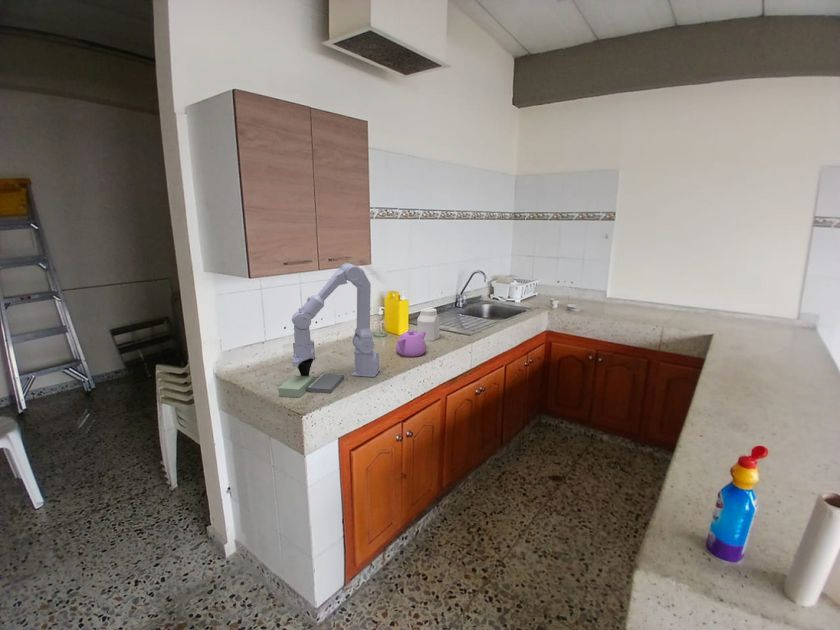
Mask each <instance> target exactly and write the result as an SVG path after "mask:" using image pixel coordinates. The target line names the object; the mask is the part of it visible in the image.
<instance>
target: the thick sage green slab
mask: <svg viewBox="0 0 840 630" xmlns="http://www.w3.org/2000/svg"><path fill="white" fill-rule="evenodd" d="M314 380H315V379H314V376H311V375H309V376H301V375H293V376H291V377H290V378H288V379H287V380H286V381H285V382H284V383H283V384H281V385H280V386H279V387H278V389H277V390H278V396H279V397H285V398H286V397H287V398H288V397H289V398H299V397H300V398H301V397H302V396H303V395H305V393H306V392H307V387H308V386H309V385H310V384H311V383H312V382H313V381H314Z"/></svg>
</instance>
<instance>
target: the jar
mask: <svg viewBox="0 0 840 630" xmlns="http://www.w3.org/2000/svg"><path fill="white" fill-rule="evenodd" d="M438 315H439V314H438V312H437V309H436V308H433V307H425V308H421V309H420V314H419V316H418V317H417V320H416V322H417V333H419V334H421V332H422V331H423V332H425V333H426V334H425V337H424V341H425V342H435V341H436V340H437V339H440V338H441V337H440V331H441V329H440V323H441V322H440V317H439V316H438Z"/></svg>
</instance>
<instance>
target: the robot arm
mask: <svg viewBox="0 0 840 630" xmlns="http://www.w3.org/2000/svg"><path fill="white" fill-rule="evenodd" d="M348 282H350V283H351V284H352V285H353V286H355V288H356V328H355V330H354V335H353V337H352V344H353V346H354V347H355V349H354V351H353V352H354V354H353V355H354V371H353V373H352V374H351V376H354V377H366V378H367V377H369V378H370V377H371V378H375V377H377V375H378V373H379V372H380V371H381V370H380V354H379V352H376V351H374V349H375V342H374V340H373V333H372V332H371V292H372V291H371V288H372V287H371V282H370V280H369V279H368V277H367V275H366V273H365V270H363V269H362V268H361V267H360V266H358V265H355V264H352V263H351V262H345V263H343V264H341V266H340V267H339V268H338V269H336V270H335V272H334V273H333V275H332V276H331V277H330V278H329V280H328V281H327V282H326V283H325V284H324V286H323V287H322V289H320V291H319V292H318V293H317V294H315V295H311V297H310V296H308V297H307V298H306V301H305V303H304V304H303V305H302V306H301V307H299V308H298V309H297V311H295V312H294V313H293V315H292V318H291V322H292V323H293V336H294V337H293V338H294V343H295V353H296V354H294V353H293V354H292V357H293V360H292V361H291V363H292V367H296V368H297V369H298V370H299V374H300V376H310V372H311V367H312V365H313V362H314V360H313V359H312V358H311V357H312V355H314V350H315V348H314V349H311V340H312V339H311V331H310V326H311V324H312V320H313V319H314V318H315V317H316V316H317V315H318V314H319V312H320V311H321V310H322V309H323V308H324V307H325V300H326V299H328V297H329V296H331V294H332V293H333V292H334V291H336V289H337V288H338V287H339V286H342V285H346V284H348ZM294 357H295V358H294Z"/></svg>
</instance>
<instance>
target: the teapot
mask: <svg viewBox="0 0 840 630" xmlns="http://www.w3.org/2000/svg"><path fill="white" fill-rule="evenodd" d="M425 334H426V333H425V332H423V331H422V332H421V334H419V333H418V332H416V331H415V330H412V329H409V330H408V331H406V332H403V333H402V334H401V335H400V337H399V338H398V340H397V342H396V346H395V351H396V353H397V354H399V355H400V356H402V357H405V358H406V357H408V358H409V357H410V358H416V357H419V356H422V355H424V354H425V352H426V351H427V345H426V341H424V337H425Z"/></svg>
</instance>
